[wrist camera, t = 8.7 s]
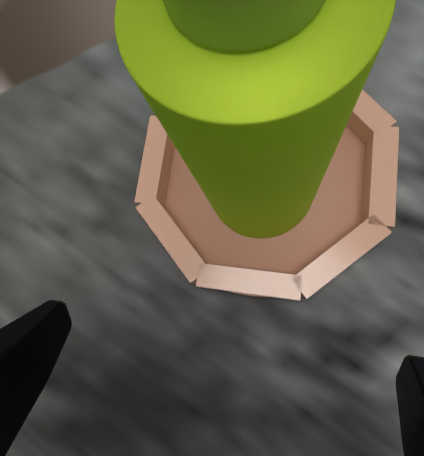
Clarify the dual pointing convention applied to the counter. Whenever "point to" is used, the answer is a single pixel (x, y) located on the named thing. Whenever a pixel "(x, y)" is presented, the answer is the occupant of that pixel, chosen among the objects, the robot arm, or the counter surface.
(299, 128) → the soap dispenser
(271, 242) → the dish
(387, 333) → the counter surface
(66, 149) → the counter surface
